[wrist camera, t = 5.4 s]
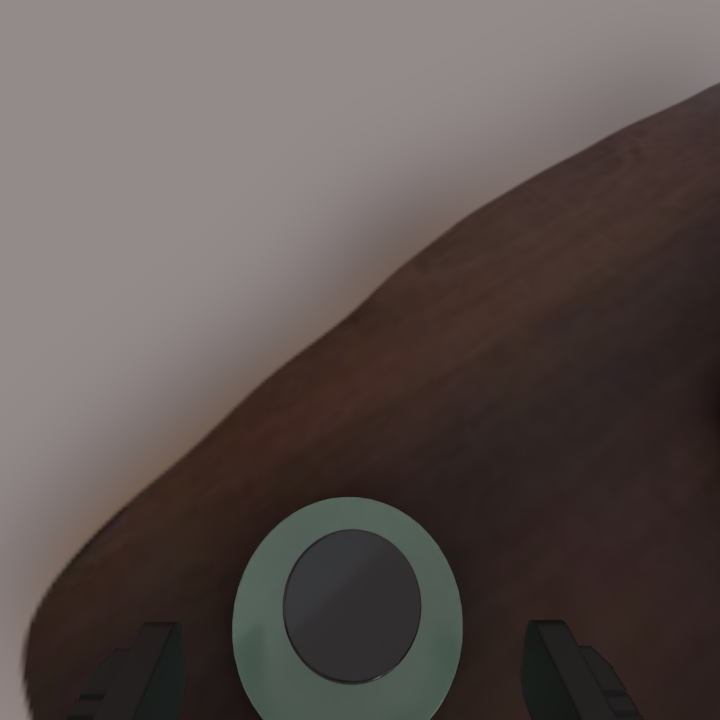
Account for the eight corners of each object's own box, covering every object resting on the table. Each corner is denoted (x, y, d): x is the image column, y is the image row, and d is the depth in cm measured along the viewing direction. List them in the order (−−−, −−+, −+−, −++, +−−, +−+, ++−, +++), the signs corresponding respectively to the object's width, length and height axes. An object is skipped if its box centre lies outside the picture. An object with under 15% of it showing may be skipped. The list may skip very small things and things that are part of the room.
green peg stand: (245, 779, 15) (137, 946, 7) (232, 522, 19) (151, 445, 11) (485, 721, 16) (624, 811, 8) (425, 487, 20) (481, 393, 12)
